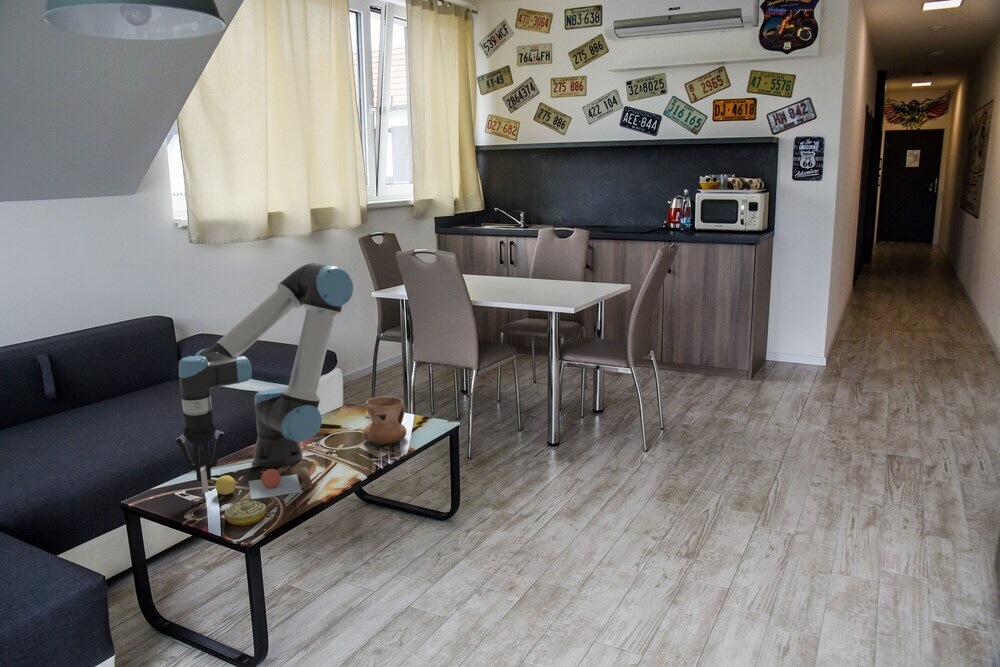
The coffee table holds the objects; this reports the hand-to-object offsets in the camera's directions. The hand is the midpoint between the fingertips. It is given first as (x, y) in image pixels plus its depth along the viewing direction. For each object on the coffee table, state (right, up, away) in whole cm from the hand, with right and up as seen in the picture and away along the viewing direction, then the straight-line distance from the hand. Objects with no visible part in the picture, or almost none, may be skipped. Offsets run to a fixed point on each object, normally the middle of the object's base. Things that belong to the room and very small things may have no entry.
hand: (205, 490), depth 225 cm
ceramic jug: (+45, +8, +45) cm, 64 cm away
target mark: (+18, 0, +7) cm, 19 cm away
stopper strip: (+26, +1, +10) cm, 28 cm away
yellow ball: (+5, +1, +2) cm, 6 cm away
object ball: (+17, +2, +6) cm, 18 cm away
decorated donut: (+16, -5, -14) cm, 22 cm away
